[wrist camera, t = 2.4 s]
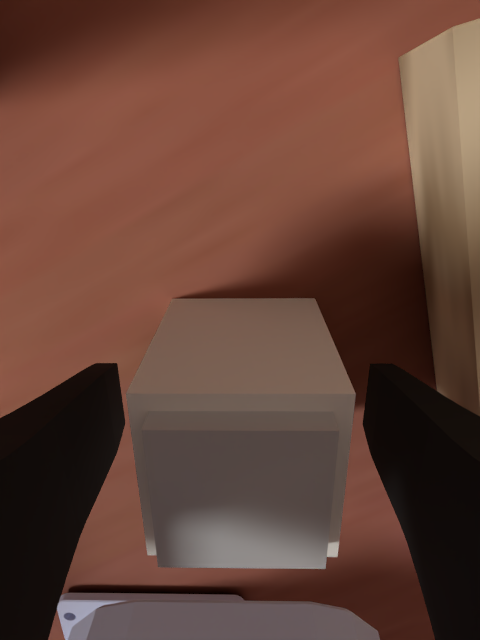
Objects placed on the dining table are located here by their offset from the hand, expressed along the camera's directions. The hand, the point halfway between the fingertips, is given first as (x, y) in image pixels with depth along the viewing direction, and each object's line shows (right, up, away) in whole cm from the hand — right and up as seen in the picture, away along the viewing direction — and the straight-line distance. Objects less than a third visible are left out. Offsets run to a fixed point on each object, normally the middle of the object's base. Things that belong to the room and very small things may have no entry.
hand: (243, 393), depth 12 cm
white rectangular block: (0, +1, +2) cm, 2 cm away
